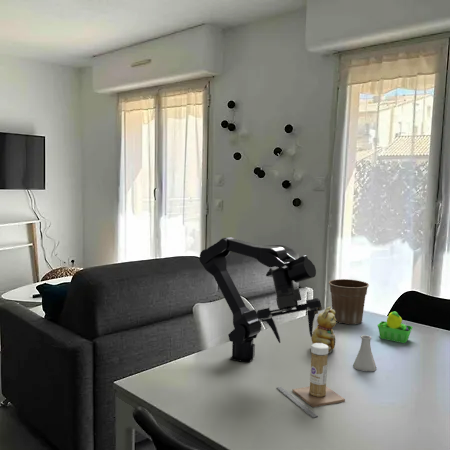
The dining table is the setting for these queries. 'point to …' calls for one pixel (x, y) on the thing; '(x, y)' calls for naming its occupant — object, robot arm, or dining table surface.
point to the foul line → (297, 402)
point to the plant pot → (348, 300)
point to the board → (318, 401)
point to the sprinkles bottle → (318, 369)
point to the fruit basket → (394, 329)
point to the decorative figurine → (325, 329)
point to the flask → (365, 356)
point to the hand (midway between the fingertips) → (295, 339)
